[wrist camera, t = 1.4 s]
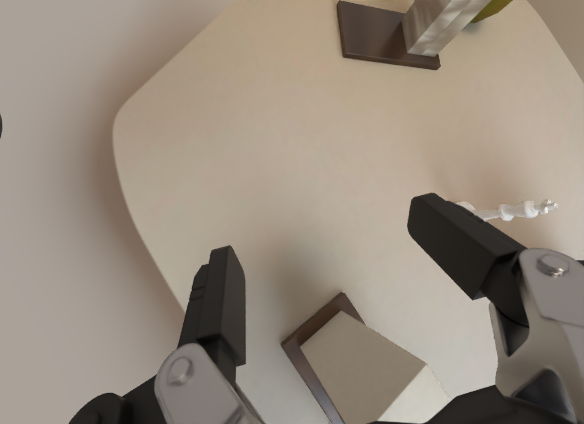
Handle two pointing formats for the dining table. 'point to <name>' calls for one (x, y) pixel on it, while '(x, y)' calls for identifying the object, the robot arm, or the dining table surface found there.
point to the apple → (490, 9)
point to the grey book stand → (301, 362)
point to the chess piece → (512, 210)
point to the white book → (372, 375)
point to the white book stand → (404, 30)
